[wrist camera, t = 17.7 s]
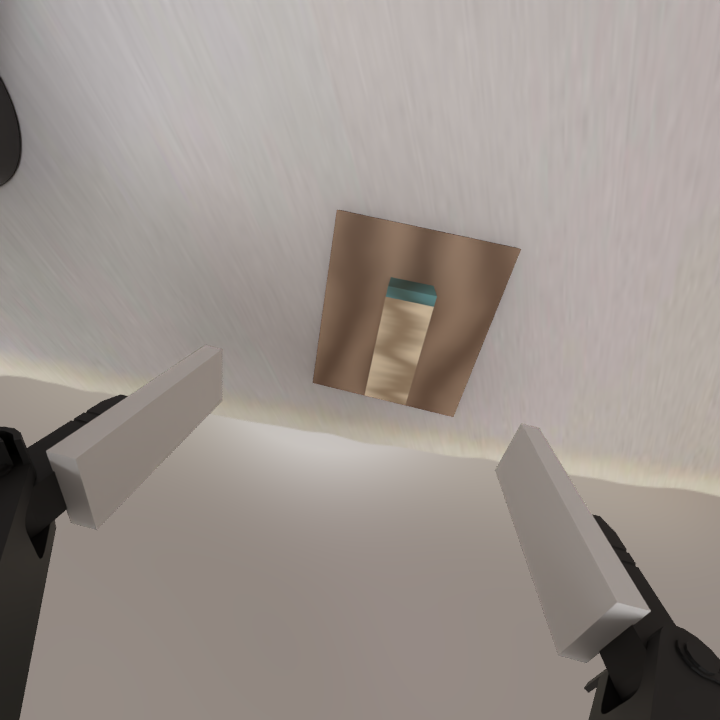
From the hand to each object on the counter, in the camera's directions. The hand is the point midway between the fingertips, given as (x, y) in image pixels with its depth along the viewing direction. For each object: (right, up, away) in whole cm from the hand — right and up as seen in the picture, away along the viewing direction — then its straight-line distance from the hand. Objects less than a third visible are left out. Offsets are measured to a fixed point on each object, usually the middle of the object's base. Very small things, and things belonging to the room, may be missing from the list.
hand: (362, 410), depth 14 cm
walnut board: (+5, +6, +21) cm, 23 cm away
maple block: (+3, -1, +22) cm, 22 cm away
